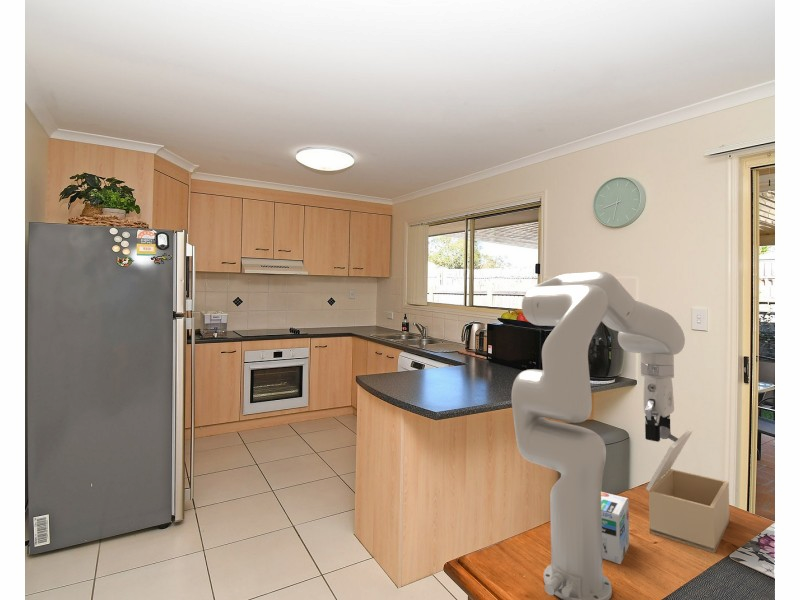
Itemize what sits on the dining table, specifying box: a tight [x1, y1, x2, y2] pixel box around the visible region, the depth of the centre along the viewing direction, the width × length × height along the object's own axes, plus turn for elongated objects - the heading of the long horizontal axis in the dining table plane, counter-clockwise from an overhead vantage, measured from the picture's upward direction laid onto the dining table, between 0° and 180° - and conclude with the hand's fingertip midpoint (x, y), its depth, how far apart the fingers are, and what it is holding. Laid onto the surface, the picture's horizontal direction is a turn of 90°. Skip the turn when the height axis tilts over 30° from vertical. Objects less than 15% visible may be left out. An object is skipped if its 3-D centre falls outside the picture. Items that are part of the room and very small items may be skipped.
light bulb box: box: [601, 491, 630, 565], centre depth 100 cm, size 11×7×11 cm, turn 143°
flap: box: [645, 426, 694, 492], centre depth 114 cm, size 20×13×6 cm
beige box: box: [648, 468, 730, 554], centre depth 109 cm, size 20×13×10 cm, turn 135°
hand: (658, 436), depth 114 cm, fingers open, 9 cm apart
